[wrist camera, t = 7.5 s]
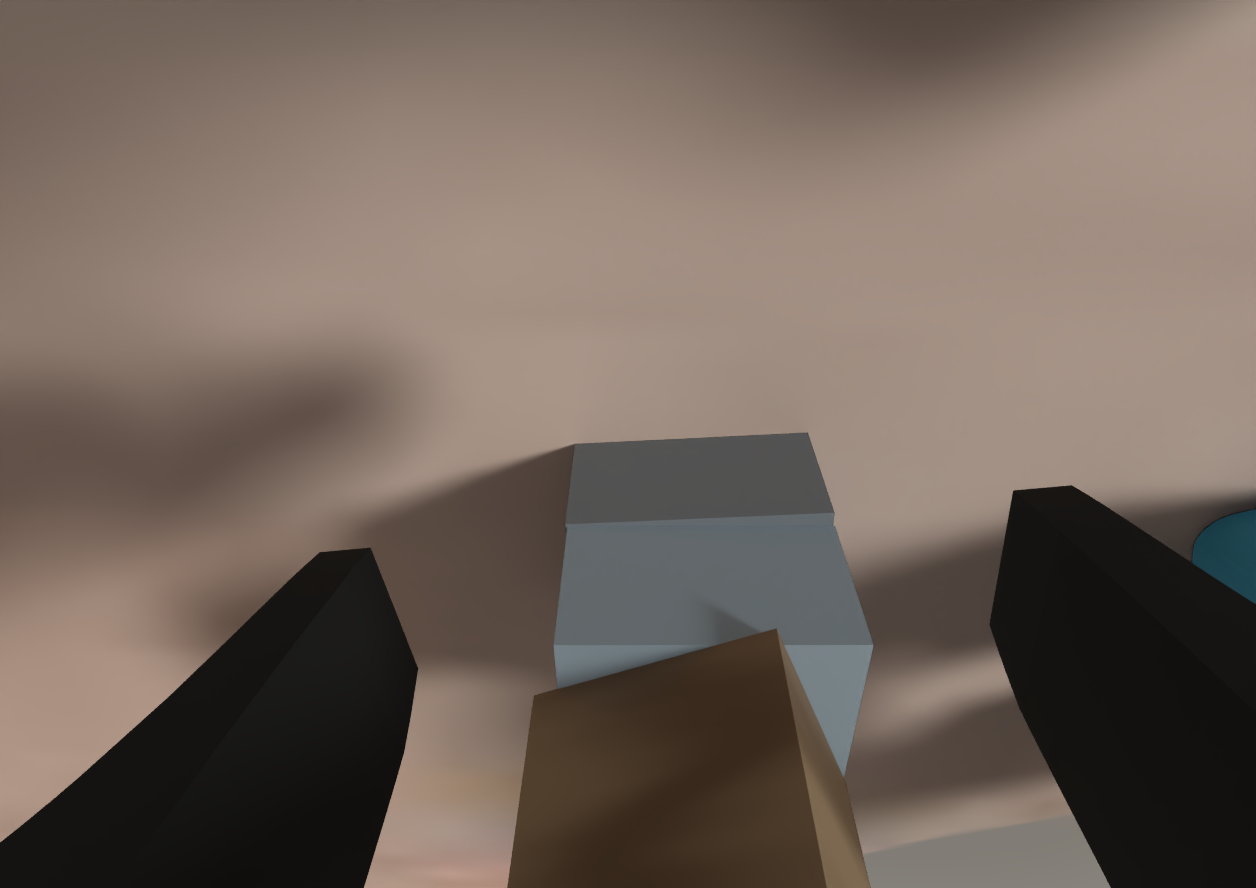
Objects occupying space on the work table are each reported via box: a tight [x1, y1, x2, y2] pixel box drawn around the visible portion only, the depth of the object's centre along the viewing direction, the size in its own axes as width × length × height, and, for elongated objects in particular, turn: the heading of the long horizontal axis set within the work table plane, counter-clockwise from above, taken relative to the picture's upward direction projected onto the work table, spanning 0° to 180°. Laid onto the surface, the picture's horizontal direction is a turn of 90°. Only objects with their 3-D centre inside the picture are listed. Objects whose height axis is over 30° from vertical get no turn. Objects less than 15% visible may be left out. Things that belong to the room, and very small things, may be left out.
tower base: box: [565, 433, 834, 535], centre depth 21 cm, size 6×6×4 cm
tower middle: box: [553, 526, 874, 777], centre depth 18 cm, size 6×6×4 cm
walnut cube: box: [507, 628, 871, 888], centre depth 14 cm, size 5×5×5 cm
